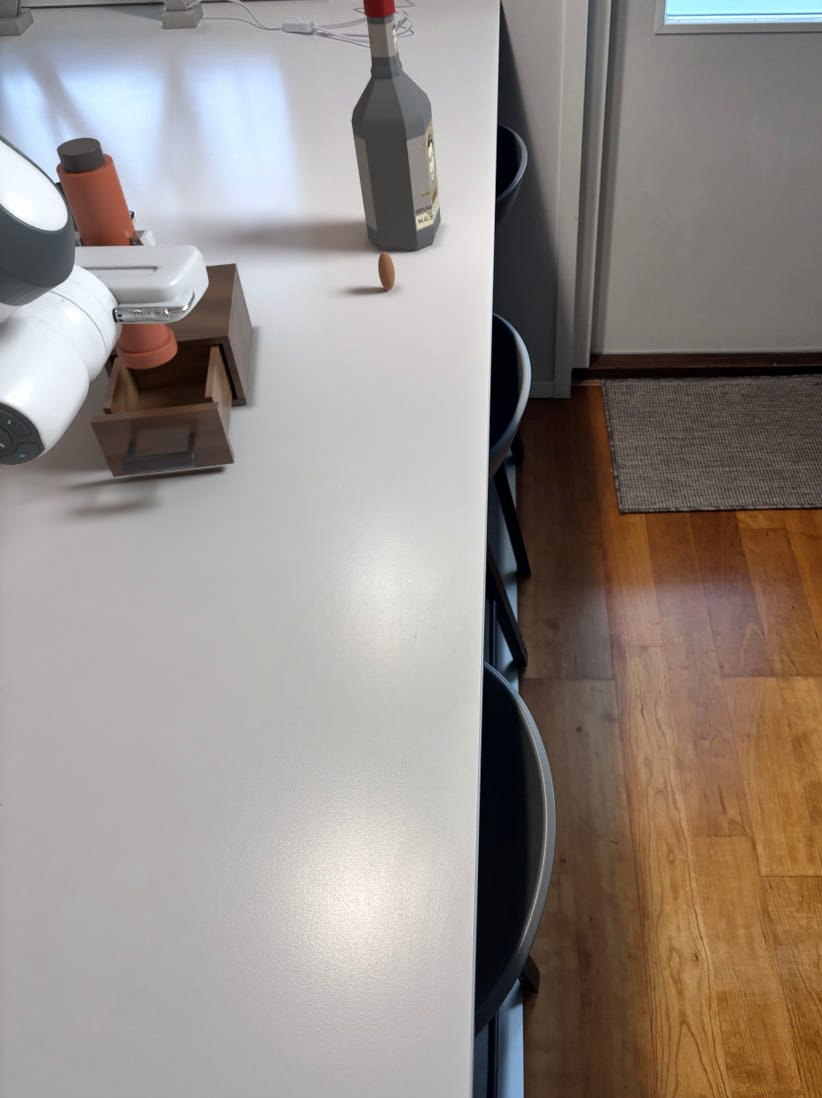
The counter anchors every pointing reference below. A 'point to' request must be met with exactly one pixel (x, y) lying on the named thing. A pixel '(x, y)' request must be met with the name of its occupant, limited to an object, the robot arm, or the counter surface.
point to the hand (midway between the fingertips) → (113, 238)
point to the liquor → (394, 145)
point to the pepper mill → (109, 237)
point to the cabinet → (218, 326)
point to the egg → (386, 271)
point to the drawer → (168, 414)
